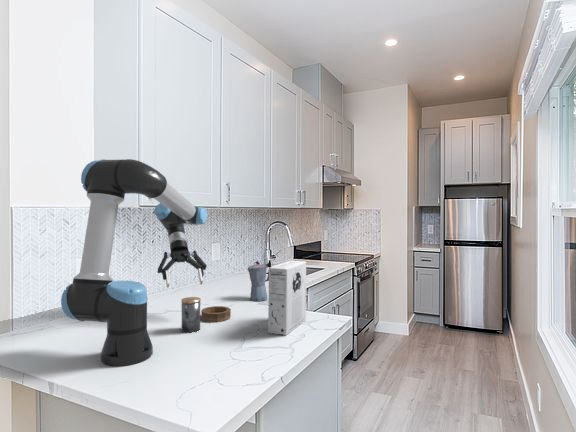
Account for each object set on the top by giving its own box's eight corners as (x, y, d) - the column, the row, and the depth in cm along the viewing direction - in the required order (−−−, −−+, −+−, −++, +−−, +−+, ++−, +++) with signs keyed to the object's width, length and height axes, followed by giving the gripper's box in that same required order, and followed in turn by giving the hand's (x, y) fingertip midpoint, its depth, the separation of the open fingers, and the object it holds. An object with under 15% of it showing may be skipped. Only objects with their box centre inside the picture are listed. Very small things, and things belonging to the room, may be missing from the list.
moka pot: (241, 300, 191) (242, 261, 191) (263, 295, 202) (263, 258, 202) (254, 303, 185) (254, 263, 184) (276, 298, 196) (276, 260, 195)
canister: (203, 331, 143) (203, 300, 143) (184, 334, 139) (184, 302, 139) (197, 326, 149) (197, 296, 149) (179, 328, 146) (179, 298, 145)
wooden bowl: (234, 319, 158) (234, 311, 158) (207, 323, 152) (207, 315, 152) (224, 312, 168) (224, 304, 168) (198, 316, 162) (198, 308, 162)
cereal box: (289, 317, 161) (290, 260, 161) (306, 320, 158) (306, 261, 158) (267, 333, 141) (268, 267, 141) (286, 336, 138) (286, 269, 138)
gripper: (204, 248, 175) (213, 286, 162) (148, 251, 164) (152, 292, 151) (207, 238, 170) (216, 276, 157) (149, 240, 159) (154, 281, 146)
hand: (185, 284), depth 154 cm, fingers open, 13 cm apart
